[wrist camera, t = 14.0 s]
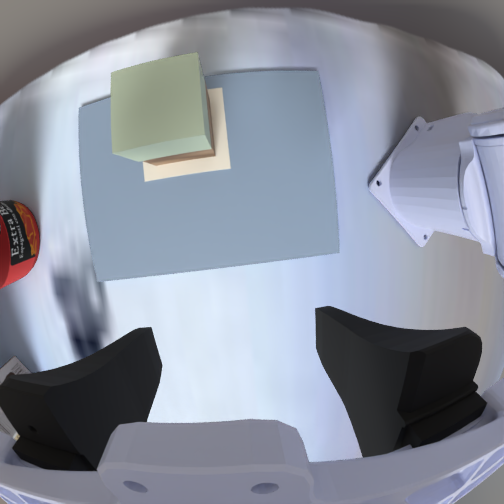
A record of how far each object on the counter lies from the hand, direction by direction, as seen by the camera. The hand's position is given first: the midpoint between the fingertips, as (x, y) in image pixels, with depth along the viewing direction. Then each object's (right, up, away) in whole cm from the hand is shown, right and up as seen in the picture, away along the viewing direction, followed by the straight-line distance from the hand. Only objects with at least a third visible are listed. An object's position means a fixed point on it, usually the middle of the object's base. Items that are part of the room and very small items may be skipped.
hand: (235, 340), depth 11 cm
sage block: (-4, +12, +3) cm, 13 cm away
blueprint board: (-3, +10, +8) cm, 13 cm away
